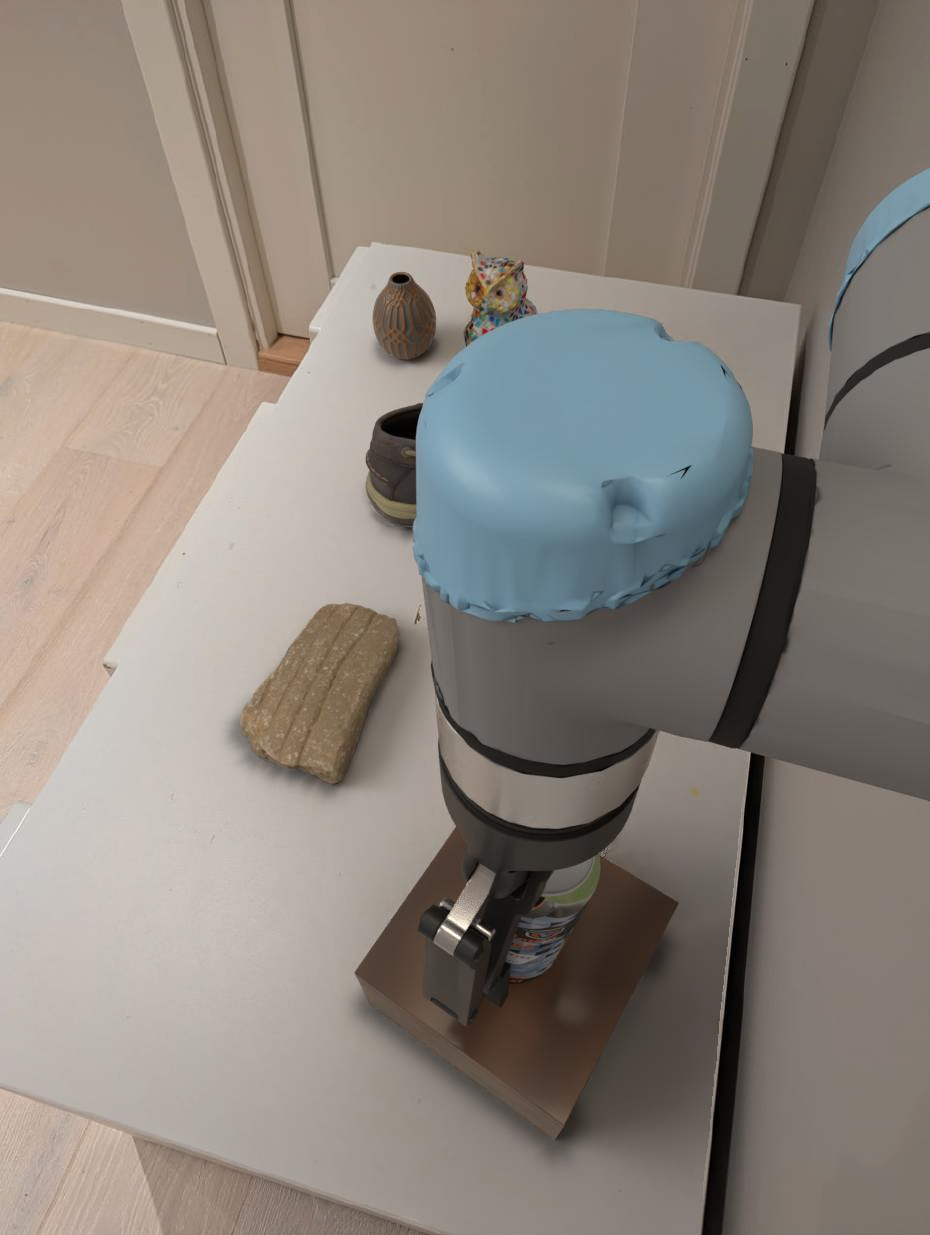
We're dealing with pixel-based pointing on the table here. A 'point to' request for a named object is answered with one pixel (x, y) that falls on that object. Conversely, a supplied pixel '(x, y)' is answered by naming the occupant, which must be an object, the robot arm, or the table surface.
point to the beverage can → (551, 920)
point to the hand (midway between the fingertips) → (521, 925)
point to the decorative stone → (322, 691)
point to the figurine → (495, 294)
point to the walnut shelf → (525, 991)
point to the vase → (404, 318)
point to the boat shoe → (394, 465)
